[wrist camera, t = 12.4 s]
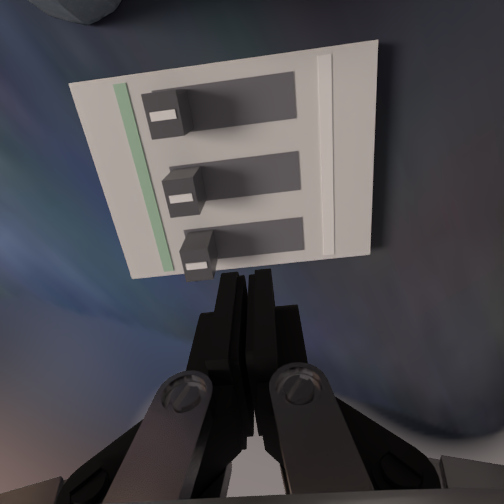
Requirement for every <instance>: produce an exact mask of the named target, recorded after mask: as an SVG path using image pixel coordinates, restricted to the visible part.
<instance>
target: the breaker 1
mask: <svg viewBox="0 0 504 504" xmlns="http://www.w3.org/2000/svg"><path fill="white" fill-rule="evenodd" d="M141 97H142V101H143V105H144V110H145V114H146V118H147V122H148V126H149V130H150V134H151V138H152V140H155V139H163V138H171V137H179V136H185V135H186V134H188V133H189V132H191V131H192V130H193V129H194V127H193V122H192V117H191V111H190V106H189V101H188V95H187V90H186V89H175V90H167V91H160V92H153V93H146V94H141Z"/></svg>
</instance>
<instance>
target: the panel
mask: <svg viewBox="0 0 504 504" xmlns="http://www.w3.org/2000/svg"><path fill="white" fill-rule="evenodd" d="M377 61H378V40H372V41H365V42H358V43H351V44H344V45H337V46H330V47H323V48H316V49H309V50H301V51H294V52H287V53H280V54H273V55H266V56H259V57H252V58H245V59H238V60H231V61H224V62H217V63H210V64H203V65H196V66H189V67H182V68H175V69H167V70H160V71H153V72H146V73H139V74H132V75H125V76H118V77H111V78H104V79H97V80H90V81H83V82H76V83H69V87H70V90H71V93H72V96H73V99H74V102H75V105H76V108H77V111H78V114H79V117H80V121H81V124H82V127H83V130H84V133H85V136H86V139H87V142H88V145H89V148H90V151H91V154H92V157H93V160H94V163H95V167H96V170H97V173H98V176H99V179H100V182H101V185H102V188H103V191H104V194H105V197H106V200H107V203H108V206H109V209H110V212H111V216H112V219H113V222H114V225H115V228H116V231H117V234H118V237H119V240H120V243H121V246H122V249H123V252H124V255H125V258H126V262H127V265H128V268H129V271H130V274H131V277H132V279H136V278H146V277H156V276H165V275H175V274H184V269H183V265H182V261H181V257H180V253H179V251H180V248H181V246H182V244H183V242H184V240H185V238H186V235H187V233H189V232H198V231H207V230H213V234H214V239H215V244H216V249H217V255H218V261H217V265H216V270H224V269H234V268H243V267H253V266H263V265H273V264H283V263H292V262H302V261H312V260H322V259H331V258H341V257H351V256H361V255H370V245H371V219H372V192H373V166H374V140H375V113H376V87H377ZM175 89H186V90H187V95H188V101H189V106H190V111H191V117H192V122H193V127H194V129H193V130H192V131H191V132H189V133H188V134H186V135H185V136H179V137H171V138H163V139H155V140H152V138H151V134H150V130H149V126H148V122H147V118H146V114H145V110H144V105H143V101H142V97H141V94H146V93H153V92H160V91H167V90H175ZM195 166H200V167H201V172H202V177H203V183H204V188H205V193H206V199H207V200H206V202H205V204H204V207H203V209H202V211H201V214H200V215H193V216H184V217H175V218H170V214H169V210H168V206H167V202H166V198H165V194H164V190H163V185H162V180H163V179H164V178H165V177H166V176H167V175H168V174H169V173H170V172H171V171H172V170H173V169H179V168H187V167H195Z"/></svg>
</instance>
